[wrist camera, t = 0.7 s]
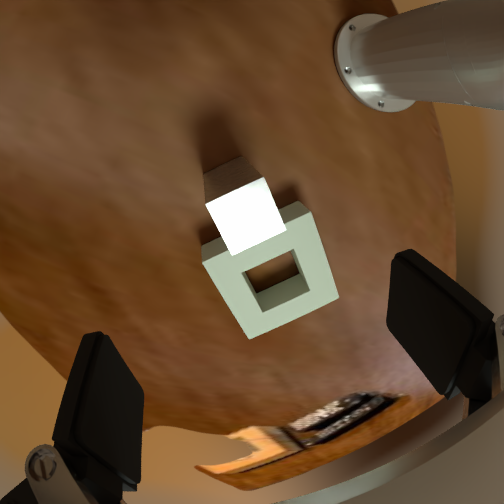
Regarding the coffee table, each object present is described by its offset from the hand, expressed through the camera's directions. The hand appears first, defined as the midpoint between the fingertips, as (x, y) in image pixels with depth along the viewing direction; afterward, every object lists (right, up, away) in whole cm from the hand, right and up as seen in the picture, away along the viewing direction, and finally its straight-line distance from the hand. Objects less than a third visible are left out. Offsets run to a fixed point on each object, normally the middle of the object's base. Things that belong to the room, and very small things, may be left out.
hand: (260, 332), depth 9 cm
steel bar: (-2, +10, +22) cm, 24 cm away
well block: (+2, +1, +27) cm, 27 cm away
